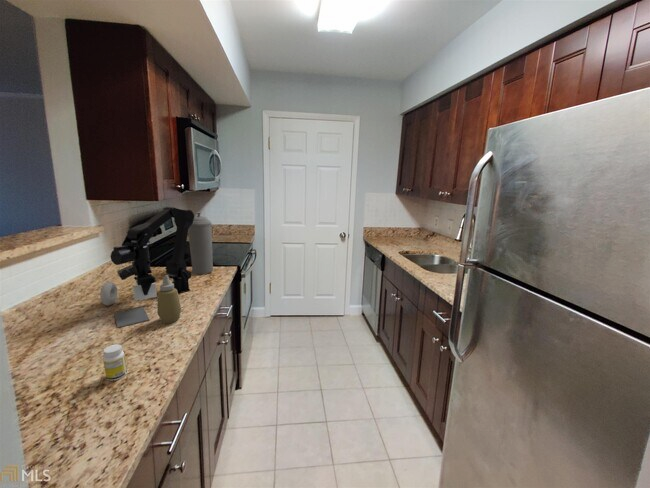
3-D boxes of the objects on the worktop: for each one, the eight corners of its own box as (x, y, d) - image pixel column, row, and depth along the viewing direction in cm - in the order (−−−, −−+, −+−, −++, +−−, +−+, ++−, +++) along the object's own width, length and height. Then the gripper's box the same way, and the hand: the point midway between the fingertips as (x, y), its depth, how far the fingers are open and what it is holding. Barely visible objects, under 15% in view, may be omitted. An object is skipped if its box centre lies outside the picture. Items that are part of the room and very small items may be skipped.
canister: (206, 267, 179) (202, 210, 171) (219, 271, 171) (215, 212, 164) (186, 272, 168) (181, 212, 161) (198, 277, 161) (194, 213, 154)
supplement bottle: (113, 370, 82) (109, 343, 81) (130, 369, 83) (127, 343, 81) (101, 381, 78) (97, 353, 76) (120, 381, 78) (116, 353, 76)
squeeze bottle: (186, 317, 115) (183, 273, 111) (170, 326, 107) (165, 280, 103) (170, 314, 117) (166, 271, 113) (153, 323, 110) (148, 277, 106)
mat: (143, 307, 122) (143, 307, 122) (149, 320, 111) (149, 319, 111) (114, 314, 116) (114, 313, 116) (117, 328, 105) (117, 327, 105)
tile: (156, 295, 127) (154, 282, 125) (156, 296, 125) (155, 283, 124) (134, 299, 122) (132, 286, 121) (134, 301, 120) (133, 287, 119)
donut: (109, 309, 120) (106, 286, 118) (100, 309, 119) (96, 286, 117) (120, 299, 130) (117, 278, 128) (111, 300, 129) (108, 278, 127)
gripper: (115, 256, 122) (120, 291, 125) (119, 267, 108) (124, 306, 111) (146, 253, 129) (149, 286, 132) (154, 262, 115) (157, 299, 118)
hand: (145, 294), depth 123 cm, fingers closed on tile, 2 cm apart
